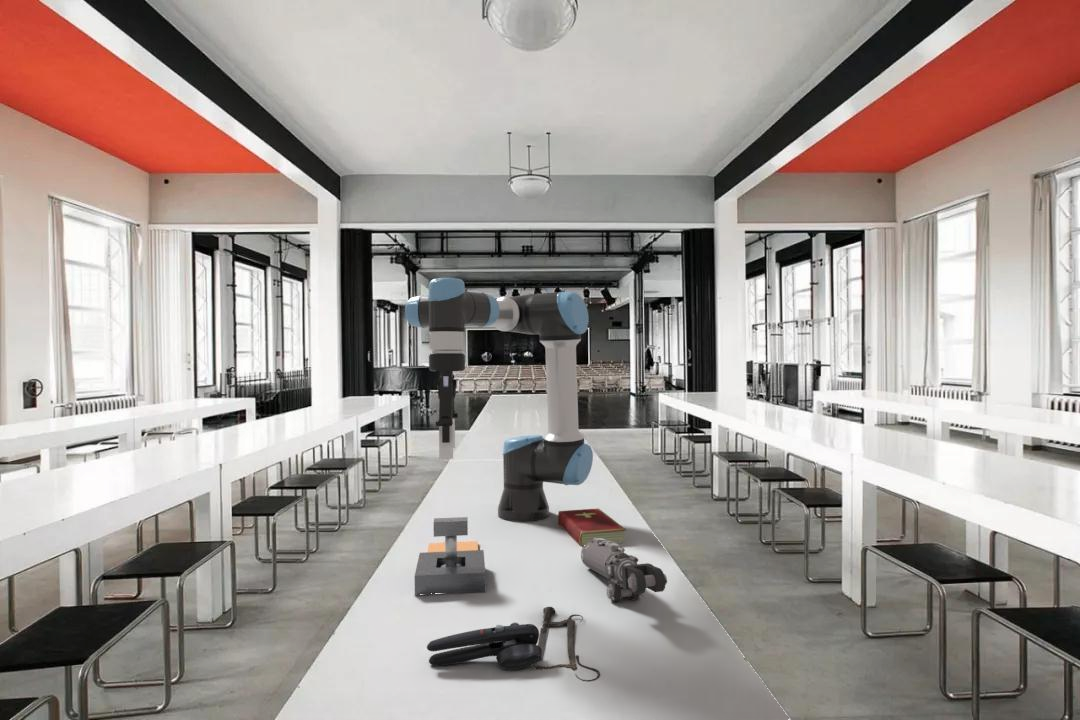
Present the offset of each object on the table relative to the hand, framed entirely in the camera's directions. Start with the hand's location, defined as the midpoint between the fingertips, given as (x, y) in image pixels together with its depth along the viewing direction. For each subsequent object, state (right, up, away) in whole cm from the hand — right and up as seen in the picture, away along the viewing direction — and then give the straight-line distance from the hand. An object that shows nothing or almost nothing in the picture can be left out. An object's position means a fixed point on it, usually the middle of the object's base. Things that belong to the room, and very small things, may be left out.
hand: (447, 453), depth 130 cm
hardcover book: (+33, -27, +34) cm, 54 cm away
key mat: (-1, -27, +18) cm, 32 cm away
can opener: (+11, -28, -34) cm, 45 cm away
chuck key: (+1, -27, 0) cm, 27 cm away
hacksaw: (+24, -28, -27) cm, 46 cm away
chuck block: (+1, -27, 0) cm, 27 cm away
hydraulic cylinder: (+35, -27, -5) cm, 44 cm away
